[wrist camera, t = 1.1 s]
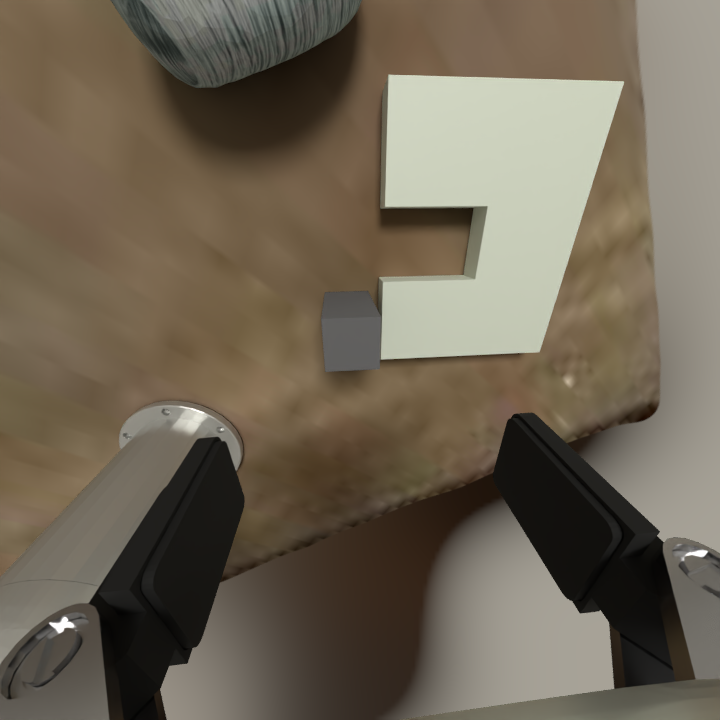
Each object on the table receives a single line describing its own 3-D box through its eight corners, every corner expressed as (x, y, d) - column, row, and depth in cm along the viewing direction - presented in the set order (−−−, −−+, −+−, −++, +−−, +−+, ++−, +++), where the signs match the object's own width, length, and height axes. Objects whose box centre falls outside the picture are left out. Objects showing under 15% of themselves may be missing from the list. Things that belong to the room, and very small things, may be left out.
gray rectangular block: (367, 331, 27) (379, 369, 20) (327, 332, 27) (325, 371, 20) (367, 291, 25) (380, 316, 18) (324, 292, 25) (321, 318, 18)
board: (524, 342, 29) (539, 352, 27) (377, 349, 28) (380, 359, 26) (593, 96, 20) (624, 81, 18) (382, 91, 19) (388, 74, 17)
